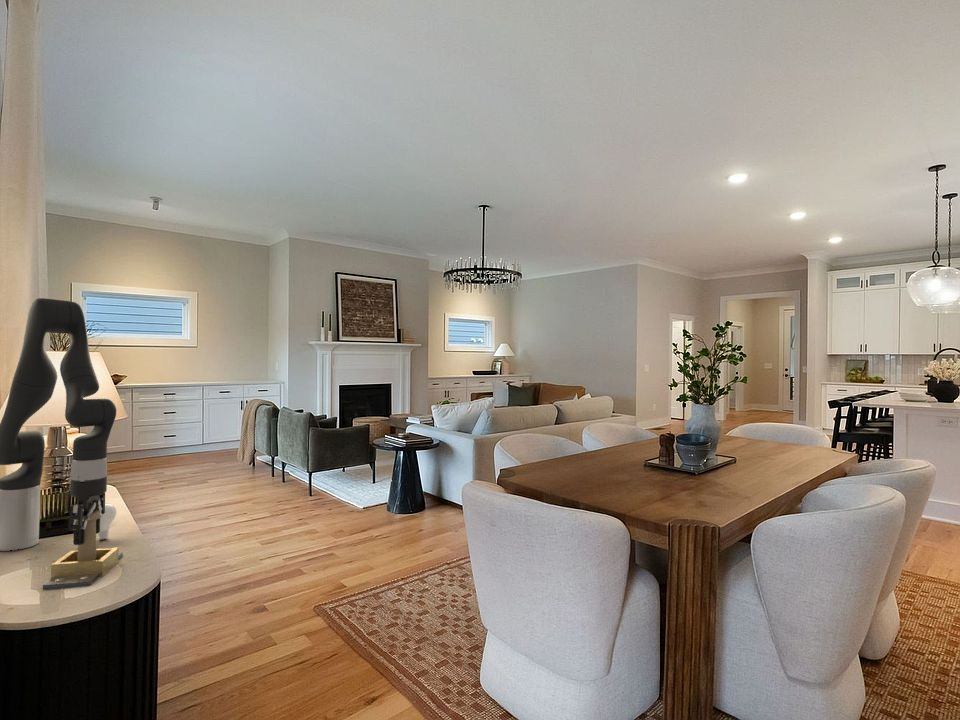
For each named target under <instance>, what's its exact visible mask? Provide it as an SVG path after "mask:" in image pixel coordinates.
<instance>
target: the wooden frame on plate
mask: <svg viewBox="0 0 960 720" xmlns="http://www.w3.org/2000/svg"><path fill="white" fill-rule="evenodd" d="M119 549H120V548H119V547H107V548H106V547H105V548H96V559H95V560H88V561H78V549H76V550H74V549H72V550H70V551H69V552H67V553H66V554H65V555H63V556H61V557H60V558H59V559H57V560H55V561H54V562H53V563H52V564H50V567H51V568H50V579H49V580H47V581H46V582H45V583H43V584H42V590H50V589H63V588H76V587H88V586H91V585H92V584H94V583H95V581H97V580H98V579H100V578H103V577H104V576H105V575H106V574H108V572H109V571H110V570H112V569H113V568H114V567H115V566H116V565H117V564H118V563H119V560H120V559H121V558H122V557H123V556H124V552H121V551H119Z"/></svg>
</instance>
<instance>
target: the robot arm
mask: <svg viewBox="0 0 960 720" xmlns="http://www.w3.org/2000/svg"><path fill="white" fill-rule="evenodd" d="M25 323H26V324H25V331H24V335H23V336H24V337H23V342H22V346H21V347H22V348H21V350H20V351H21V352H20V355H19V358H18V362H17V365H16V369H15V371H14V374H13V378H12V382H11V386H10V390H9V394H8V399H7V403H6V407H5V410H4V413H3V415H2V418H1V421H0V466H9V465H17V464H18V465H19V464H22V465H21V466H20V467H19V468H18V469H16V470H15V471H12V472H11V473H9V474H7V475H4V476H2V477H0V552H7V551H8V552H10V550H12V551H18V549H19V550H22V549H28V548H32V547H34V546H36V545H38V543H39V538H40V511H41V507H40V505H41V484H42V483H41V482H42V481H41V480H42V476H43V471H44V470H43V469H44V458H45V448H46V447H45V446H46V443H45V438H44V436H43V435H44V434H43V433H42V432H40V431H39V430H23V431H21V429H22V427H23V426H24V424H25V423H26V422H27V421H28V420H29V419H30V418H31V417H32V416H33V415H35V414H36V413H37V412H38V411H39V410H41V409H42V408H43V407H44V406H45V405H46V404H47V403H48V402H49V400H51V399H52V397H53V394H54V391H55V387H56V384H57V381H58V372H57V370H56V368H55V365H54V364H53V362H52V361H51V359H50V357H49V355H48V353H47V351H46V349H45V337H46V335H47V333H49V334H51V333H53V334H65V335H68V337H69V341H70V344H69V346H68V349H67V350H66V352H65V353H64V355H63V358H62V359H61V362H60V364H59V365H60V366H59V372H60V375H61V379H62V381H63V385H64V388H65V401H66V402H65V410H64V411H65V412H64V417H65V420H66V422H67V423H68V424H69V425H70V426H72V427H75V428H85V427H93V428H92V430H91V431H90V432H89V433H85V434H84V435H80V436H77V437H76V438H74V439H73V444H72V462H71V469H70V489H69V491H70V492H69V495H70V496H71V497H73V498H77V501H76V504H71V505H70V506H69V514H68V516H69V517H68V530H69V531H73V542H72V544H73V545H74V546H78V545H82V544H84V543H85V527H86V524H87V521H89V520H90V519H91V515H92V513H93V512H95V511H96V509H97V510H100V518H102V514H104V513H105V503H106V492H107V490H108V489H107V488H108V487H107V486H108V462H107V459H108V458H107V453H108V451H107V449H108V440H109V438H110V434H111V431H112V428H113V426H114V423H115V420H116V417H117V407H116V404H115V402H113V400H111V399H109V398H87V397H90V396H93V395H95V394H96V393H97V392H98V391H99V389H100V383H99V380H98V377H97V374H96V372H95V369H94V366H93V363H92V359H91V354H90V348H89V347H90V345H89V340H88V334H87V332H88V331H87V326H86V319H85V314H84V311H83V308H82V307H81V305H80V304H79V303H77V302H75V301H70V300H62V299H53V298H44V297H42V298H41V297H40V298H39V297H38V298H35V299H34V300H33V301H32V302H31V304H30V307H29V308H28V313H27V318H26V322H25ZM85 515H87V516H85ZM100 518H98V519H97V520H96V535H98V533H99V532H100Z"/></svg>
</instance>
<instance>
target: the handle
mask: <svg viewBox="0 0 960 720" xmlns="http://www.w3.org/2000/svg"><path fill="white" fill-rule="evenodd" d="M85 516H87V515H85ZM98 518H100V510H97V509H96V511H95V512H93V513H92V515H91V519H90V520H89V521H87V524H86V527H85V543H84V544H82V545H77V550H78V561H88V560H95V559H96V549H97V534H96V520H97V519H98Z"/></svg>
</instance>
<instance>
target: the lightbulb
mask: <svg viewBox="0 0 960 720" xmlns="http://www.w3.org/2000/svg"><path fill="white" fill-rule="evenodd" d="M116 516H117V508H116V506H115V505H114V504H111V503H108V502H105V513H104V514H102V518H100V532H99V533H97V539H98V540H100V541H105V540H106V539H108V538H109V531H110V528H111V524H112V523H113V521H114V520H115V519H116ZM104 539H105V540H104Z"/></svg>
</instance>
